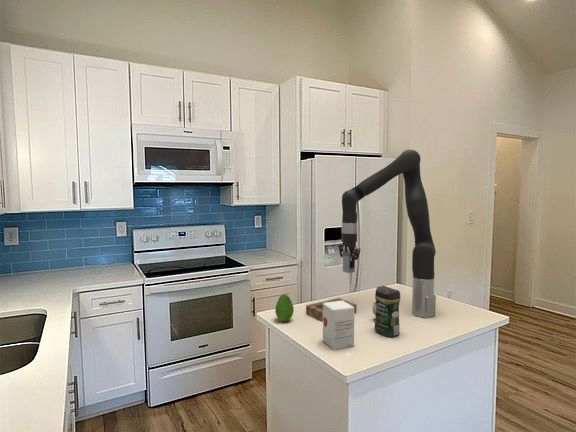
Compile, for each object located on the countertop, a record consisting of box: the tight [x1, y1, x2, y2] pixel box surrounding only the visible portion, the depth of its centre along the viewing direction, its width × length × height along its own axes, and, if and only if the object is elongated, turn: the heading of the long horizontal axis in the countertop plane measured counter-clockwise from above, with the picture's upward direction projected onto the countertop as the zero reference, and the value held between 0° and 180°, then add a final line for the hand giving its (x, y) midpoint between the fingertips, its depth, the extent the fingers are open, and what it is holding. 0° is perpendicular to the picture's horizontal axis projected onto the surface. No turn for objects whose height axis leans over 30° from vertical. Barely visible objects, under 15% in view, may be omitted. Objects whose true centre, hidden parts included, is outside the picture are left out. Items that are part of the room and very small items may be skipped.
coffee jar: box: [374, 285, 401, 338], centre depth 150 cm, size 10×8×19 cm
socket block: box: [305, 298, 357, 323], centre depth 173 cm, size 12×20×4 cm, turn 123°
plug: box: [342, 251, 356, 274], centre depth 181 cm, size 4×4×10 cm
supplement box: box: [322, 299, 355, 351], centre depth 140 cm, size 9×9×15 cm
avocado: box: [274, 293, 295, 322], centre depth 164 cm, size 8×8×12 cm
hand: (348, 267), depth 181 cm, fingers closed on plug, 4 cm apart
